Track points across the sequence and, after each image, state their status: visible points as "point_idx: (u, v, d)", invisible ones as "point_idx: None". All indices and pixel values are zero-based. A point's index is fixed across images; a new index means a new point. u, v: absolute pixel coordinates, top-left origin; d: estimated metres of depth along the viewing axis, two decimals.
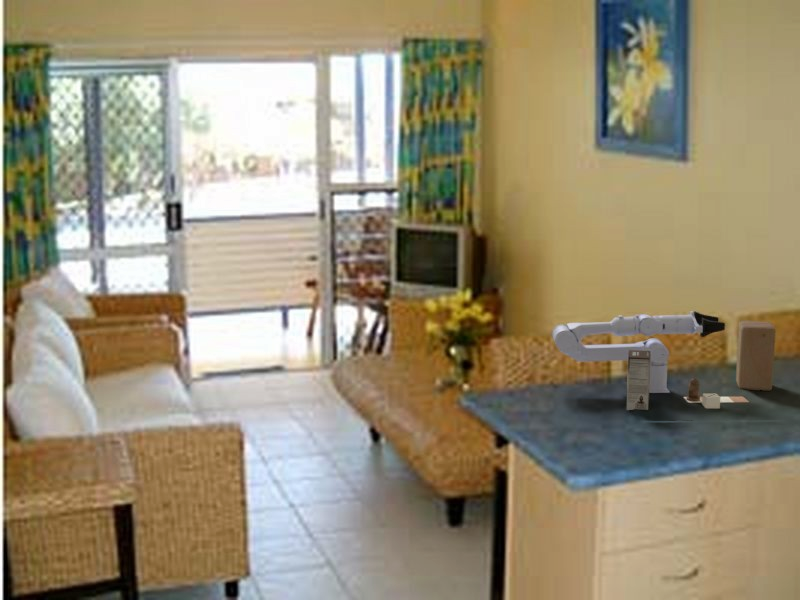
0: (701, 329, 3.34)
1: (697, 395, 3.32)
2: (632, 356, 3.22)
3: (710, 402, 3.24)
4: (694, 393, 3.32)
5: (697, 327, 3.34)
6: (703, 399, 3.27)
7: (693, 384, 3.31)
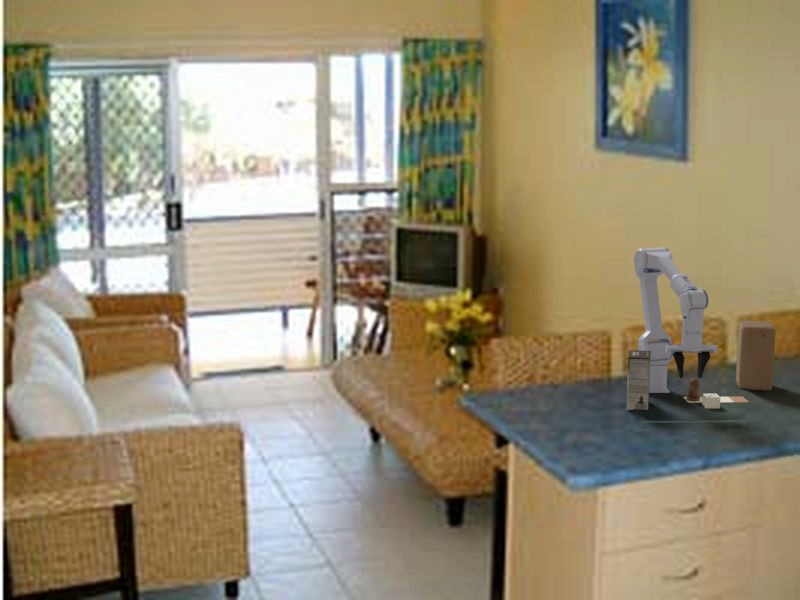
0: (666, 351, 3.23)
1: (697, 395, 3.32)
2: (632, 356, 3.22)
3: (710, 402, 3.24)
4: (694, 393, 3.32)
5: (667, 348, 3.22)
6: (703, 399, 3.27)
7: (693, 384, 3.31)
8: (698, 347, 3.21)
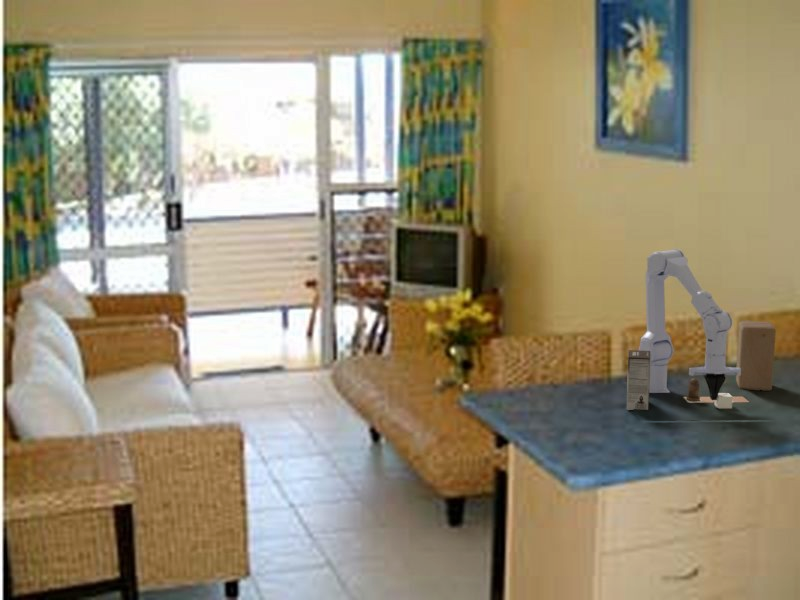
0: (689, 373, 3.25)
1: (697, 395, 3.32)
2: (632, 356, 3.22)
3: (722, 402, 3.24)
4: (694, 393, 3.32)
5: (690, 370, 3.24)
6: None
7: (693, 384, 3.31)
8: (721, 369, 3.22)
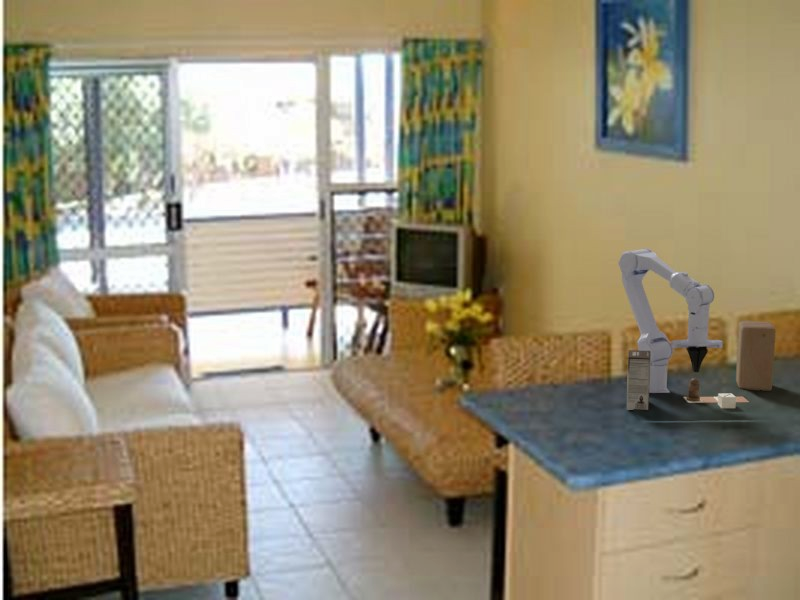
0: (672, 346, 3.30)
1: (697, 395, 3.32)
2: (632, 356, 3.22)
3: (726, 402, 3.24)
4: (694, 393, 3.32)
5: (673, 342, 3.29)
6: (718, 399, 3.27)
7: (693, 384, 3.31)
8: (704, 342, 3.27)
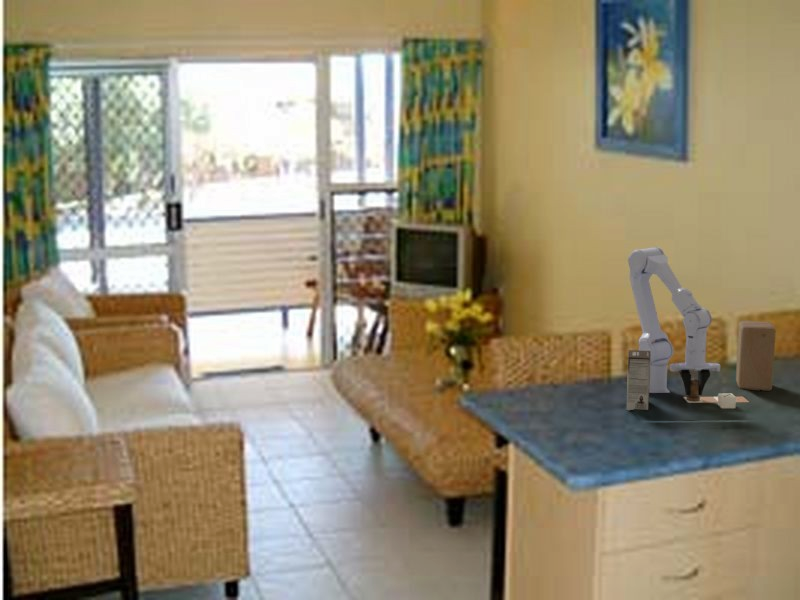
0: (670, 369, 3.32)
1: (697, 395, 3.32)
2: (632, 356, 3.22)
3: (726, 402, 3.24)
4: (694, 393, 3.32)
5: (671, 366, 3.31)
6: (718, 399, 3.27)
7: (693, 384, 3.31)
8: (701, 365, 3.29)
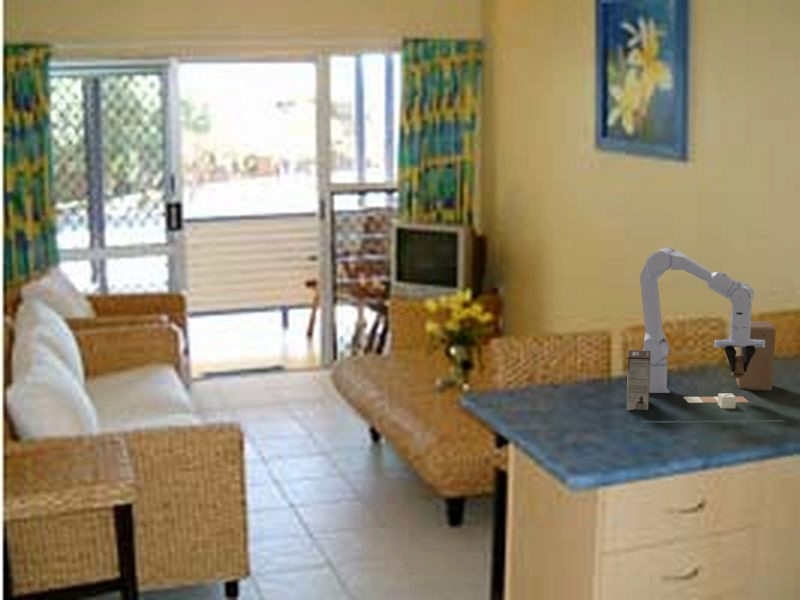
0: (715, 346, 3.30)
1: (742, 372, 3.31)
2: (632, 356, 3.22)
3: (726, 402, 3.24)
4: (739, 370, 3.30)
5: (715, 342, 3.30)
6: (718, 399, 3.27)
7: (738, 361, 3.30)
8: (746, 341, 3.28)
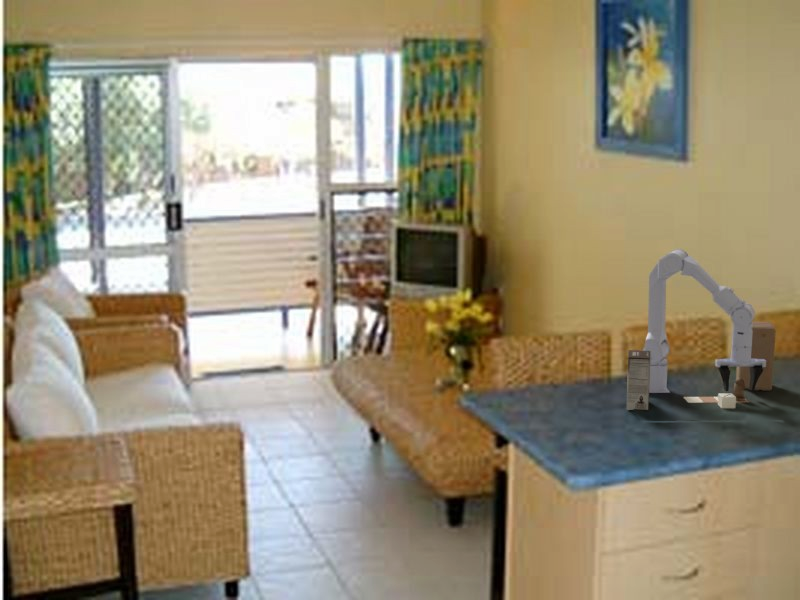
0: (716, 365, 3.32)
1: (743, 395, 3.32)
2: (632, 356, 3.22)
3: (726, 402, 3.24)
4: (739, 393, 3.32)
5: (716, 362, 3.31)
6: (718, 399, 3.27)
7: (739, 384, 3.32)
8: (747, 361, 3.29)
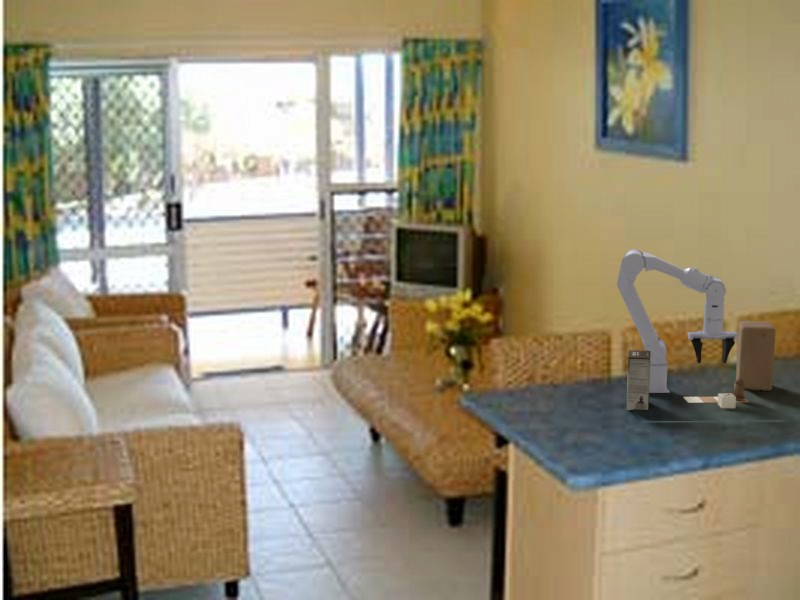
0: (688, 338, 3.38)
1: (743, 395, 3.32)
2: (632, 356, 3.22)
3: (726, 402, 3.24)
4: (739, 393, 3.32)
5: (689, 334, 3.37)
6: (718, 399, 3.27)
7: (739, 384, 3.32)
8: (719, 334, 3.35)
